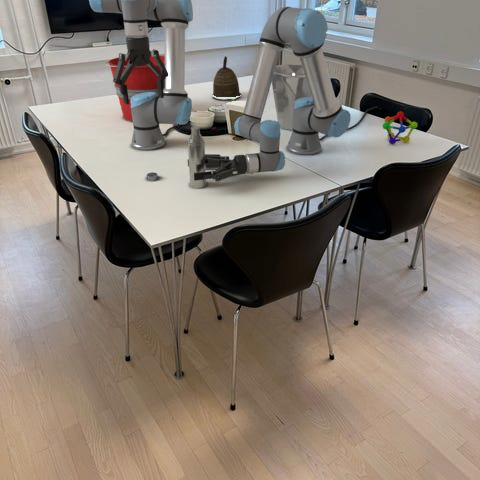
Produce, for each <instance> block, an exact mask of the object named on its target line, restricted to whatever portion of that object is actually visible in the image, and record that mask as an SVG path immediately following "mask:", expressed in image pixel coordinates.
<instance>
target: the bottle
mask: <svg viewBox="0 0 480 480" xmlns="http://www.w3.org/2000/svg"><path fill="white" fill-rule="evenodd" d="M190 131H191V134H190V136H189V137H188V140H187V154H188V155H187V156H188V159H189V167H188V170H189V171H188V172H189V186H190V187H191V188H194V189H201V188H204V187H206V186H207V179H205V180H196V181H195V180H194V173H198V172H207V169H206V166H205V154H206V145H205V139H204V137H203V136H202V134H201V127H200V126H198V125H196V126H195V125H194V126H191V127H190Z"/></svg>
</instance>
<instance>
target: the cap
mask: <svg viewBox="0 0 480 480" xmlns="http://www.w3.org/2000/svg"><path fill="white" fill-rule="evenodd" d="M158 179H159V174H158V172H153V171H152V172H148V173H147V174H146V180H147V181H157V180H158Z"/></svg>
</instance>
